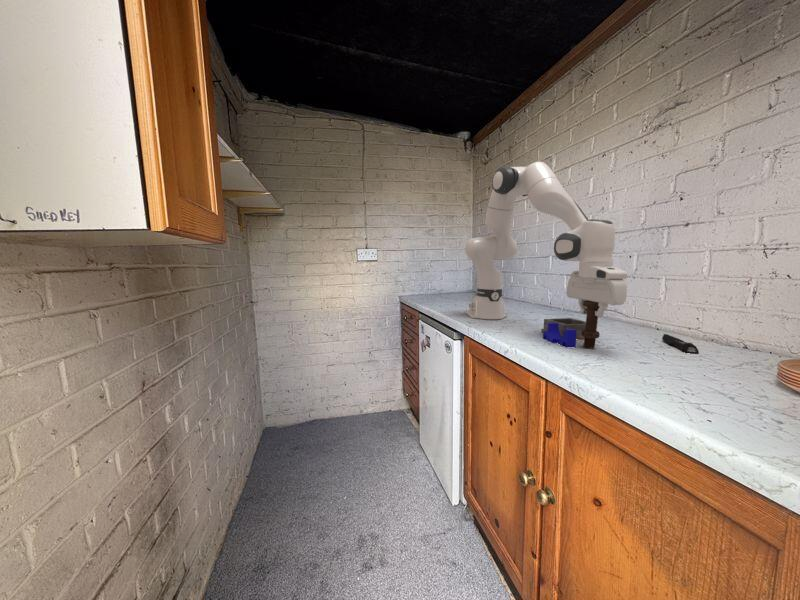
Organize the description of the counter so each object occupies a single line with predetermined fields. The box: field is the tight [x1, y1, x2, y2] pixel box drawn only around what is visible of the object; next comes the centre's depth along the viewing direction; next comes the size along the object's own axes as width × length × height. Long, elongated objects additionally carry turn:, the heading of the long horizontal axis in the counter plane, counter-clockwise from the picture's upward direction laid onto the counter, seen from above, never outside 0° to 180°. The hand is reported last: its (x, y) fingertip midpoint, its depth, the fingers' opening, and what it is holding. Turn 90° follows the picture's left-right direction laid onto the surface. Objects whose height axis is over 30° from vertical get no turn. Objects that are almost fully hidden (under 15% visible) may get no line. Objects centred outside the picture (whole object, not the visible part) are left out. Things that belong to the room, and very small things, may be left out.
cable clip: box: [542, 323, 577, 348], centre depth 104 cm, size 12×4×6 cm, turn 3°
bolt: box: [581, 301, 600, 349], centre depth 98 cm, size 6×5×15 cm
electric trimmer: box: [661, 333, 699, 355], centre depth 99 cm, size 4×16×3 cm, turn 163°
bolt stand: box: [541, 317, 586, 340], centre depth 115 cm, size 13×13×5 cm
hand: (591, 315), depth 98 cm, fingers closed on bolt, 5 cm apart
